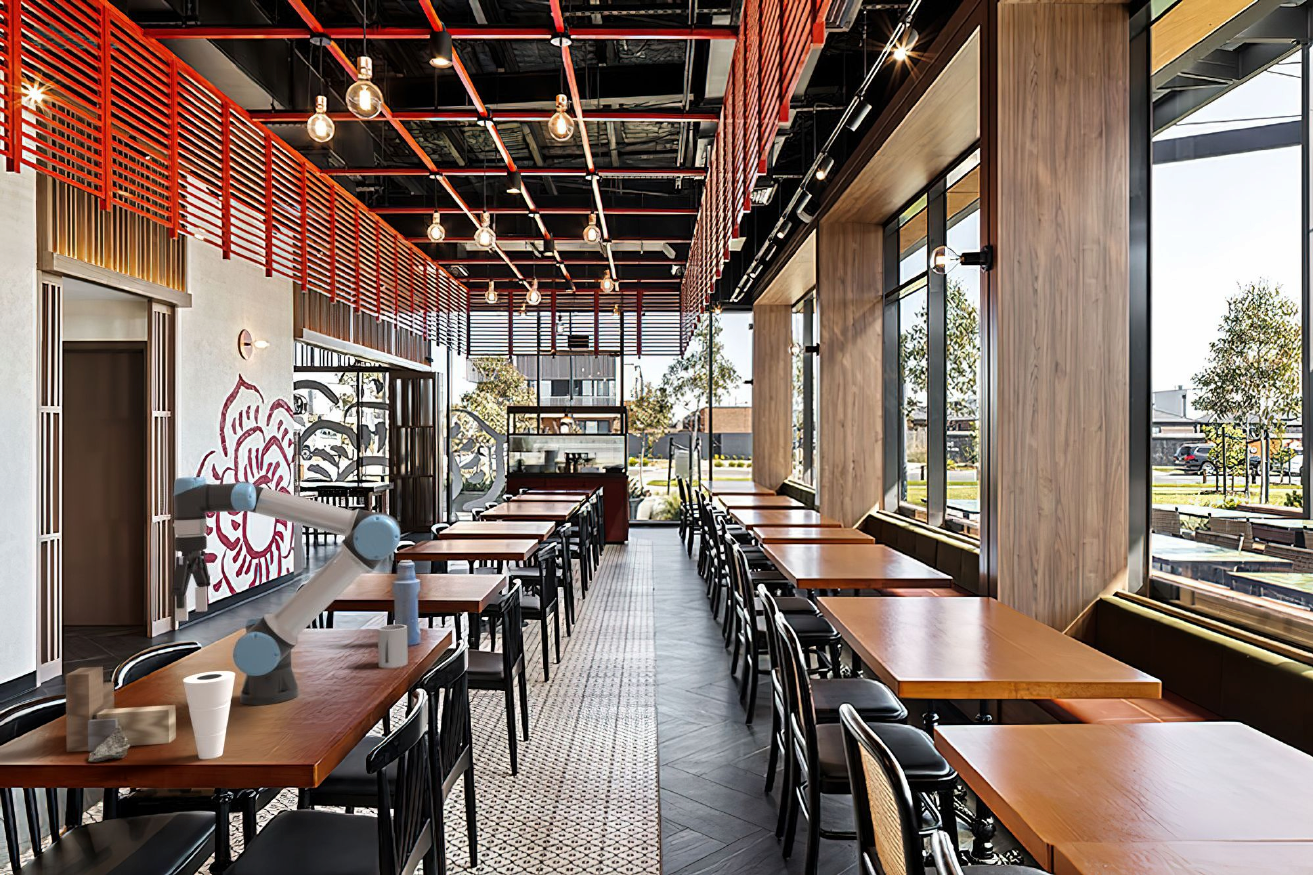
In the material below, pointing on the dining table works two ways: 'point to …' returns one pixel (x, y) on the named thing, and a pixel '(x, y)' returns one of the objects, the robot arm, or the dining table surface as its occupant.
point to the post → (88, 709)
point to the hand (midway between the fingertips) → (191, 615)
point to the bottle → (407, 600)
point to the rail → (144, 723)
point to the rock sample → (111, 747)
